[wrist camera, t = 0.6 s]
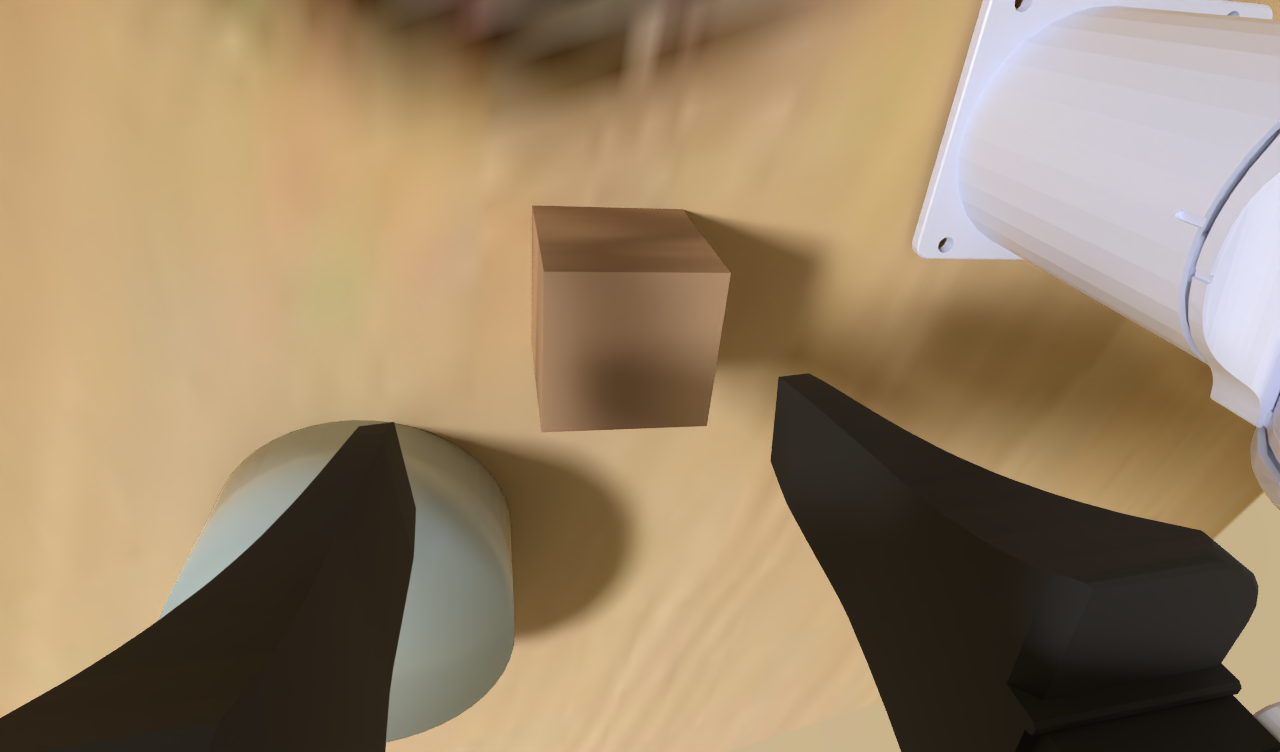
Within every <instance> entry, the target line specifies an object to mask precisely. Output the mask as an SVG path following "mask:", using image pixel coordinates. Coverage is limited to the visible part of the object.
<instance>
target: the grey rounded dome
mask: <svg viewBox="0 0 1280 752" xmlns="http://www.w3.org/2000/svg"><path fill="white" fill-rule="evenodd" d="M382 423H388V422H379V421H354V420H352V421H340V422H330V423H325V424H320V425H314V426H310V427H306V428H303V429H300V430H297V431H294V432H290V433H288V434H286V435H284V436H281V437H279V438H277V439H275V440H273V441H271V442H269V443H268V444H266V445H264V446H263V447H261V448H259V449H258V450H256V451H255V452H254V453H252V454H251V455H250V456H249V457H248V458H246V459H245V460H244V461H243V462H242V463H241V464H240V465H239V466H238V467H237V468H236V469H235V471H234V472H233V473H232V474H231V475H230V477H229V479H228V480H227V482H226V483H225V485H224V486H223V488H222V490H221V492H220V494H219V496H218V498H217V500H216V502H215V504H214V506H213V508H212V510H211V512H210V514H209V516H208V518H207V520H206V523H205V525H204V527H203V529H202V531H201V533H200V535H199V537H198V539H197V541H196V543H195V545H194V547H193V549H192V551H191V553H190V555H189V557H188V559H187V561H186V563H185V565H184V567H183V569H182V571H181V573H180V575H179V577H178V579H177V581H176V583H175V585H174V587H173V589H172V591H171V593H170V595H169V597H168V599H167V601H166V604H165V606H164V609H163V611H162V614H161V616H160V619H161V618H162V617H164V616H165V615H166V614H168V613H169V612H170V611H172V610H173V609H174V608H176V607H177V606H178V605H180V604H181V603H182V602H184V601H185V600H186V599H188V598H189V597H190V596H192V595H193V594H194V593H196V592H197V591H198V590H200V589H201V588H202V587H204V586H205V585H206V584H207V583H208V582H210V581H211V580H212V579H213V578H215V577H216V576H217V575H218V574H219V573H220V572H222V571H223V570H224V569H225V568H226V567H227V566H229V565H230V564H231V563H232V562H233V561H234V560H236V559H237V558H238V557H239V556H240V555H241V554H242V553H243V552H244V551H246V550H247V549H248V548H249V547H250V546H251V545H252V544H253V543H254V542H255V541H256V540H257V539H258V538H259V537H260V536H261V535H262V534H263V533H264V532H265V531H266V530H267V529H268V528H269V527H270V526H271V525H272V524H273V523H274V522H275V521H276V520H277V519H278V518H279V517H280V516H281V515H282V514H283V513H284V512H285V511H286V510H287V509H288V508H289V507H290V506H291V505H292V503H293V502H294V501H295V500H296V499H297V498H298V497H299V496H300V495H301V493H302V492H303V491H304V490H305V489H306V488H307V487H308V485H309V484H310V483H311V482H312V481H313V480H314V479H315V477H316V476H317V475H318V474H319V473H320V472H321V470H322V469H323V468H324V467H325V466H326V464H327V463H328V462H329V461H330V460H331V458H332V457H333V456H334V455H335V454H336V452H337V451H338V450H339V449H340V448H341V446H342V445H343V444H344V443H345V442H346V440H347V439H348V438H349V437H350V436H351V435H352V434H353V432H354V431H355V430H356V429H357V428H358V427H359V426H365V425H373V424H382ZM394 424H395V423H394ZM395 428H396V431H397V435H398V439H399V443H400V447H401V451H402V455H403V459H404V463H405V467H406V471H407V475H408V479H409V482H410V486H411V490H412V494H413V498H414V502H415V506H416V524H415V545H414V559H413V565H412V571H411V576H410V582H409V587H408V593H407V598H406V604H405V609H404V614H403V619H402V625H401V630H400V635H399V641H398V646H397V651H396V657H395V662H394V667H393V674H392V681H391V688H390V697H389V709H388V722H387V735H386V742H390V741H394V740H398V739H402V738H406V737H409V736H412V735H416V734H419V733H422V732H425V731H427V730H429V729H432V728H434V727H437V726H439V725H441V724H443V723H445V722H447V721H449V720H451V719H453V718H454V717H456V716H458V715H460V714H461V713H463V712H464V711H466V710H467V709H469V708H470V707H472V706H473V705H474V704H475V703H476V702H478V701H479V700H480V699H481V698H482V697H484V696H485V695H486V693H487V692H488V691H489V690H490V689H491V688H492V687H493V686H494V685H495V684H496V682H497V681H498V679H499V678H500V676H501V675H502V674H503V672H504V670H505V668H506V666H507V664H508V662H509V660H510V657H511V653H512V650H513V646H514V635H515V625H514V600H513V575H512V550H511V525H510V516H509V510H508V507H507V503H506V500H505V498H504V495H503V493H502V491H501V489H500V487H499V486H498V484H497V483H496V481H495V480H494V478H493V477H492V475H491V474H490V473H489V472H488V471H487V470H486V469H485V468H484V467H483V466H482V465H481V463H480V462H478V461H477V460H476V459H475V458H473V457H472V456H471V455H470V454H468V453H467V452H466V451H464V450H463V449H461V448H459V447H458V446H456V445H455V444H453V443H451V442H449V441H447V440H445V439H443V438H441V437H439V436H436V435H434V434H432V433H429V432H426V431H423V430H420V429H417V428H413V427H409V426H404V425H400V424H395ZM160 619H159V620H160Z"/></svg>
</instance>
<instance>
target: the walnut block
mask: <svg viewBox="0 0 1280 752" xmlns="http://www.w3.org/2000/svg"><path fill="white" fill-rule="evenodd" d="M730 276H731V272H730V271H729V270H728V268H727V267H726V266H725V264H724V263H723V262H722V260H721V259H720V258H719V256H718V255H717V254H716V252H715V251H714V250H713V248H712V247H711V246H710V245H709V243H708V242H707V241H706V239H705V238H704V237H703V235H702V234H701V233H700V231H699V230H698V229H697V227H696V226H695V225H694V223H693V222H692V221H691V219H690V218H689V217H688V215H687V214H686V213H685V212H684V210H681V209H642V208H602V207H563V206H532V351H533V360H534V369H535V378H536V387H537V396H538V405H539V414H540V422H541V431H542V432H562V431H587V430H613V429H638V428H664V427H690V426H707V420H708V414H709V408H710V402H711V395H712V389H713V383H714V376H715V370H716V364H717V358H718V351H719V345H720V339H721V333H722V326H723V320H724V314H725V307H726V301H727V295H728V289H729V282H730Z"/></svg>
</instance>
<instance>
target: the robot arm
mask: <svg viewBox="0 0 1280 752" xmlns="http://www.w3.org/2000/svg"><path fill="white" fill-rule="evenodd" d="M1272 15H1273V11H1272V9H1271V7H1270V6H1267V5H1264V4H1254V3H1244V2H1235V1H1225V0H1023V2H1022V4H1021V6H1020V7H1019V8H1018V9H1016V8H1015V0H983V2H982V6H981V9H980V13H979V16H978V19H977V23H976V26H975V30H974V33H973V37H972V40H971V43H970V47H969V50H968V54H967V57H966V60H965V64H964V67H963V71H962V74H961V77H960V81H959V84H958V88H957V91H956V94H955V98H954V101H953V105H952V108H951V111H950V115H949V118H948V122H947V125H946V129H945V132H944V135H943V139H942V142H941V146H940V149H939V152H938V156H937V159H936V163H935V166H934V169H933V173H932V176H931V180H930V183H929V186H928V190H927V193H926V197H925V200H924V203H923V207H922V210H921V214H920V217H919V221H918V224H917V227H916V231H915V234H914V238H913V241H912V248H913V251H914V252H915V253H916V254H917V255H919V256H920V257H922V258H925V259H984V260H1026V261H1028V262H1030V263H1031V264H1033V265H1035V266H1037V267H1038V268H1040V269H1042V270H1044V271H1045V272H1047V273H1049V274H1051V275H1052V276H1054V277H1056V278H1057V279H1059V280H1061V281H1063V282H1064V283H1066V284H1068V285H1070V286H1071V287H1073V288H1075V289H1077V290H1078V291H1080V292H1082V293H1084V294H1085V295H1087V296H1089V297H1091V298H1092V299H1094V300H1096V301H1098V302H1099V303H1101V304H1103V305H1105V306H1106V307H1108V308H1110V309H1112V310H1113V311H1115V312H1117V313H1118V314H1120V315H1122V316H1124V317H1125V318H1127V319H1129V320H1131V321H1132V322H1134V323H1136V324H1138V325H1139V326H1141V327H1143V328H1145V329H1146V330H1148V331H1150V332H1152V333H1153V334H1155V335H1157V336H1159V337H1160V338H1162V339H1164V340H1166V341H1167V342H1169V343H1171V344H1173V345H1174V346H1176V347H1178V348H1179V349H1181V350H1183V351H1185V352H1186V353H1188V354H1190V355H1192V356H1193V357H1195V358H1197V359H1199V360H1200V361H1202V362H1204V363H1206V364H1207V365H1209V367H1210V368H1211V371H1212V375H1213V386H1212V390H1211V399H1212V400H1214V401H1215V402H1217V403H1219V404H1220V405H1222V406H1223V407H1225V408H1227V409H1228V410H1230V411H1231V412H1233V413H1235V414H1236V415H1238V416H1240V417H1241V418H1243V419H1244V420H1246V421H1248V422H1249V423H1251V424H1252V425H1254V426H1256V429H1255V432H1254V435H1253V437H1252V441H1251V447H1250V459H1251V465H1252V470H1253V473H1254V475H1255V477H1256V479H1257V481H1258V483H1259V485H1260V487H1261V488H1262V490H1263V491H1264V492H1265V493H1266V495H1267V496H1268V497H1269V499H1270V500H1271V501H1272V503H1274V505H1275V506H1276V507H1277V508H1278V509H1279V510H1280V20H1273V19H1272ZM944 238H947V240H946V243H945V244H944V245H943V246H942V247H941V248H938V245H939V243H940V241H941V240H942V239H944ZM771 463H772V466H773V468H774V471H775V474H776V477H777V480H778V482H779V485H780V488H781V490H782V493H783V495H784V498H785V500H786V503H787V505H788V507H789V509H790V510H791V512H792V514H793V516H794V518H795V520H796V522H797V523H798V525H799V527H800V529H801V531H802V533H803V534H804V536H805V538H806V540H807V542H808V543H809V545H810V547H811V549H812V551H813V552H814V554H815V556H816V558H817V560H818V561H819V563H820V565H821V567H822V568H823V570H824V572H825V574H826V576H827V577H828V579H829V581H830V583H831V585H832V586H833V588H834V590H835V592H836V594H837V595H838V597H839V599H840V601H841V603H842V605H843V607H844V609H845V611H846V613H847V615H848V618H849V620H850V622H851V625H852V627H853V629H854V632H855V634H856V637H857V639H858V641H859V644H860V646H861V648H862V651H863V653H864V656H865V658H866V660H867V663H868V665H869V668H870V670H871V673H872V675H873V678H874V681H875V683H876V686H877V688H878V691H879V693H880V696H881V698H882V701H883V703H884V706H885V708H886V711H887V714H888V716H889V719H890V722H891V724H892V727H893V730H894V733H895V736H896V738H897V741H898V744H899V746H900V749H901V752H1280V702H1277V703H1275V704H1272V705H1269V706H1266V707H1265V708H1263V709H1261V710H1260V711H1258V712H1256V713H1255V714H1254V715H1252V714H1251V713H1250V712H1249V711H1248V710H1247V709H1246V708H1245V707H1244V706H1243V705H1242V704H1241V703H1240V702H1239V701H1238V700H1237V699H1236V698H1235V697H1234V696H1233V695H1234V694H1238V692H1239V691H1240V690H1241V684H1240V681H1239V680H1238V679H1237V678H1236V677H1235V676H1234V675H1233V674H1232V673H1231V672H1230V671H1229V670H1228V669H1227V668H1225V667H1224V666H1223V665H1222V664H1221V662H1222V661H1223V659H1224V658H1225V656H1226V655H1227V653H1228V652H1229V650H1230V649H1231V647H1232V646H1233V644H1234V642H1235V641H1236V639H1237V638H1238V637H1239V635H1240V633H1241V632H1242V630H1243V629H1244V627H1245V626H1246V624H1247V623H1248V621H1249V619H1250V617H1251V615H1252V613H1253V611H1254V609H1255V607H1256V602H1257V595H1258V584H1257V581H1256V579H1255V576H1254V574H1253V573H1252V572H1251V571H1249V570H1248V569H1247V568H1246V567H1245V566H1244V565H1242V564H1241V563H1240V562H1239V561H1237V560H1236V559H1235V558H1234V557H1232V555H1230V554H1229V553H1228V552H1227V551H1226V550H1224V549H1223V548H1222V547H1221V546H1220V545H1218V544H1217V543H1216V542H1215V541H1214V540H1212V539H1211V538H1210V537H1209V536H1208V535H1206V534H1205V533H1204V532H1202V531H1201V530H1196V529H1191V528H1187V527H1182V526H1177V525H1173V524H1168V523H1163V522H1158V521H1154V520H1149V519H1144V518H1140V517H1135V516H1130V515H1126V514H1122V513H1118V512H1114V511H1111V510H1107V509H1103V508H1100V507H1096V506H1092V505H1089V504H1085V503H1081V502H1078V501H1075V500H1071V499H1068V498H1065V497H1062V496H1058V495H1055V494H1052V493H1049V492H1046V491H1043V490H1040V489H1037V488H1035V487H1032V486H1029V485H1026V484H1023V483H1020V482H1017V481H1015V480H1012V479H1009V478H1007V477H1004V476H1002V475H999V474H996V473H994V472H991V471H989V470H987V469H984V468H982V467H980V466H978V465H975V464H973V463H971V462H968V461H966V460H964V459H961V458H959V457H957V456H955V455H953V454H951V453H948V452H946V451H944V450H942V449H940V448H938V447H936V446H934V445H932V444H931V443H929V442H927V441H925V440H923V439H921V438H919V437H917V436H915V435H913V434H911V433H910V432H908V431H906V430H904V429H902V428H901V427H899V426H897V425H895V424H894V423H892V422H890V421H888V420H887V419H885V418H883V417H882V416H880V415H878V414H876V413H875V412H873V411H871V410H870V409H868V408H866V407H865V406H863V405H862V404H860V403H858V402H857V401H855V400H853V399H852V398H850V397H848V396H847V395H845V394H844V393H842V392H840V391H839V390H837V389H835V388H834V387H832V386H830V385H829V384H827V383H825V382H824V381H822V380H820V379H818V378H817V377H815V376H813V375H811V374H800V375H792V376H783V377H779V380H778V390H777V401H776V411H775V421H774V432H773V442H772V452H771ZM415 524H416V506H415V502H414V498H413V494H412V490H411V486H410V482H409V479H408V475H407V471H406V467H405V463H404V459H403V455H402V451H401V447H400V443H399V439H398V435H397V431H396V428H395V424H394V422H390V423H382V424H373V425H365V426H359V427H358V428H357V429H356V430H355V431H354V432H353V434H352V435H351V436H350V437H349V438H348V439H347V440H346V442H345V443H344V444H343V445H342V446H341V448H340V449H339V450H338V451H337V452H336V454H335V455H334V456H333V457H332V458H331V460H330V461H329V462H328V463H327V464H326V466H325V467H324V468H323V469H322V470H321V472H320V473H319V474H318V475H317V476H316V477H315V479H314V480H313V481H312V482H311V483H310V484H309V485H308V487H307V488H306V489H305V490H304V491H303V492H302V493H301V495H300V496H299V497H298V498H297V499H296V500H295V501H294V502H293V503H292V505H291V506H290V507H289V508H288V509H287V510H286V511H285V512H284V513H283V514H282V515H281V516H280V517H279V518H278V519H277V520H276V521H275V522H274V523H273V524H272V525H271V526H270V527H269V528H268V529H267V530H266V531H265V532H264V533H263V534H262V535H261V536H260V537H259V538H258V539H257V540H256V541H255V542H254V543H253V544H252V545H251V546H250V547H249V548H248V549H247V550H246V551H244V552H243V553H242V554H241V555H240V556H239V557H238V558H237V559H236V560H234V561H233V562H232V563H231V564H230V565H229V566H227V567H226V568H225V569H224V570H223V571H222V572H220V573H219V574H218V575H217V576H216V577H215V578H213V579H212V580H211V581H210V582H208V583H207V584H206V585H205V586H204V587H202V588H201V589H200V590H198V591H197V592H196V593H194V594H193V595H192V596H190V597H189V598H188V599H186V600H185V601H184V602H182V603H181V604H180V605H178V606H177V607H176V608H174V609H173V610H172V611H170V612H169V613H168V614H166V615H165V616H164V617H162V618H161V619H160V620H158V621H157V622H156V623H154V624H153V625H152V626H150V627H149V628H147V629H146V630H145V631H143V632H142V633H140V634H139V635H137V636H136V637H134V638H133V639H131V640H130V641H128V642H127V643H125V644H124V645H122V646H121V647H119V648H118V649H116V650H115V651H113V652H112V653H110V654H109V655H107V656H105V657H104V658H102V659H101V660H99V661H97V662H96V663H94V664H93V665H91V666H90V667H88V668H86V669H85V670H83V671H82V672H80V673H78V674H77V675H75V676H73V677H72V678H70V679H68V680H67V681H65V682H63V683H62V684H60V685H58V686H57V687H55V688H53V689H51V690H49V691H48V692H46V693H44V694H42V695H41V696H39V697H37V698H35V699H34V700H32V701H30V702H28V703H26V704H25V705H23V706H21V707H19V708H18V709H16V710H14V711H12V712H11V713H9V714H7V715H5V716H3V717H2V718H0V752H385V748H386V735H387V722H388V709H389V697H390V688H391V681H392V674H393V667H394V662H395V657H396V651H397V646H398V641H399V635H400V630H401V625H402V619H403V614H404V609H405V604H406V598H407V593H408V587H409V582H410V576H411V571H412V565H413V559H414V545H415Z"/></svg>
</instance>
